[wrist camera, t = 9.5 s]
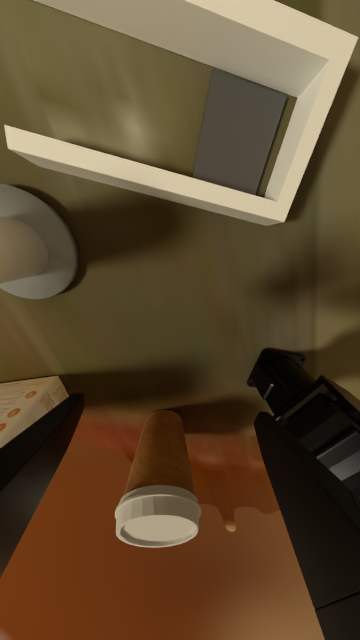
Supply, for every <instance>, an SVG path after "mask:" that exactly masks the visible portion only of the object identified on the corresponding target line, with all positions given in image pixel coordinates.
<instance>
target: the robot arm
mask: <svg viewBox="0 0 360 640" xmlns="http://www.w3.org/2000/svg"><path fill="white" fill-rule="evenodd" d="M266 352H267V353H266ZM305 361H306V357H305V356H304V355H299V354H293V353H287V352H281V351H275V350H269V349H264V350H262V352H261V354H260V356H259V358H258V360H257V362H256V364H255V366H254V368H253V370H252V372H251V374H250V377H249V379H248V381H247V384H248V386H250V387H256V388H257V390H258V391H259V393H260V395H261V397H262V398H263V400H266V402H267V403H268V405H269V407H270V408H271V410H272V412H273V413H274V414H275V415H274V416H272V415H270V414H269V413H268V412H262V411H261V412H259V414H258V415H257V417H256V419H255V421H254V427H255V431H256V435H257V439H258V443H259V447H260V451H261V455H262V458H263V461H264V464H265V467H266V470H267V473H268V476H269V479H270V482H271V485H272V488H273V490H274V493H275V496H276V499H277V502H278V505H279V508H280V511H281V514H282V516H283V519H284V522H285V525H286V528H287V531H288V534H289V537H290V540H291V543H292V545H293V548H294V551H295V554H296V557H297V560H298V563H299V566H300V568H301V571H302V574H303V577H304V580H305V583H306V586H307V589H308V591H309V595H310V598H311V600H312V603H313V606H314V608H315V612H316V615H317V618H318V621H319V624H320V627H321V630H322V633H323V636H324V638H325V640H360V400H358V399H357V398H356V397H355V396H353V395H352V394H351V393H350V392H348V391H347V390H345V389H344V388H342V387H341V386H339V385H337V384H336V383H334V382H333V381H331V380H329V379H328V378H326V377H325V376H323V375H321V376H320V377H318V380H316V381H315V380H314V379H313V378H312V377H311V376H310V375H309V374H308V373H307V372H306V371H305V370H304V369H303V368H302V366H303V364H304V362H305ZM83 409H84V394H83V393H73V394H71V395H70V396H69V397H67V398H66V399H65V400H63V401H62V402H61V403H59V404H58V405H57V406H55V407H54V408H53V409H51V410H50V411H49V412H48V413H46V414H45V415H44V416H42V417H41V418H40V419H38V420H37V421H36V422H34V423H33V424H32V425H30V426H29V427H28V428H26V429H25V430H24V431H22V432H21V433H20V434H18V435H17V436H16V437H14V438H13V439H12V440H10V441H9V442H8V443H7V444H5V445H4V446H3V447H1V448H0V578H1V576H2V574H3V572H4V570H5V568H6V566H7V565H8V563H9V561H10V559H11V557H12V555H13V553H14V551H15V549H16V547H17V545H18V543H19V541H20V539H21V537H22V535H23V534H24V532H25V530H26V528H27V526H28V524H29V522H30V520H31V518H32V516H33V514H34V512H35V510H36V509H37V507H38V504H39V503H40V501H41V499H42V497H43V495H44V493H45V491H46V489H47V487H48V485H49V483H50V481H51V479H52V478H53V476H54V474H55V472H56V470H57V468H58V466H59V464H60V462H61V460H62V458H63V456H64V454H65V453H66V450H67V448H68V446H69V444H70V442H71V439H72V437H73V434H74V432H75V429H76V427H77V424H78V422H79V420H80V417H81V415H82V412H83Z"/></svg>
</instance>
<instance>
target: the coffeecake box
mask: <svg viewBox="0 0 360 640" xmlns="http://www.w3.org/2000/svg"><path fill="white" fill-rule="evenodd" d="M67 397H69V395H68V393H67V392H66V389H65V387H64V385H63V383H62V381H61V380H60V378H59V376H52V377H45V378H37V379H30V380H23V381H15V382H8V383H1V384H0V448H1V447H3V446H4V445H5V444H7V443H8V442H9V441H10V440H12V439H13V438H14V437H16V436H17V435H18V434H20V433H21V432H22V431H24V430H25V429H26V428H28V427H29V426H30V425H32V424H33V423H34V422H36V421H37V420H38V419H40V418H41V417H42V416H44V415H45V414H46V413H48V412H49V411H50V410H51V409H53V408H54V407H55V406H57V405H58V404H59V403H61V402H62V401H63V400H65V399H66V398H67Z"/></svg>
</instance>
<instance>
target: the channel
mask: <svg viewBox="0 0 360 640" xmlns="http://www.w3.org/2000/svg"><path fill="white" fill-rule="evenodd" d="M33 1H36V2H39V3H41V4H44V5H47V6H50V7H52V8H55V9H58V10H60V11H63V12H66V13H69V14H71V15H74V16H77V17H79V18H82V19H85V20H88V21H90V22H93V23H96V24H98V25H101V26H104V27H107V28H109V29H112V30H115V31H117V32H120V33H123V34H126V35H128V36H131V37H134V38H136V39H139V40H142V41H145V42H147V43H150V44H153V45H155V46H158V47H161V48H164V49H166V50H169V51H172V52H174V53H177V54H180V55H183V56H185V57H188V58H191V59H193V60H196V61H199V62H202V63H204V64H207V65H210V66H212V67H215V68H218V69H221V70H223V71H226V72H229V73H231V74H234V75H237V76H240V77H242V78H245V79H248V80H250V81H253V82H256V83H259V84H261V85H264V86H267V87H269V88H272V89H275V90H278V91H280V92H283V93H286V94H288V95H291V96H294V97H297V98H298V99H297V102H296V105H295V107H294V110H293V113H292V116H291V119H290V122H289V125H288V128H287V131H286V134H285V137H284V140H283V143H282V146H281V149H280V152H279V154H278V157H277V160H276V163H275V166H274V169H273V172H272V175H271V178H270V181H269V184H268V187H267V190H266V193H265V196H264V198H262V197H259V196H255V194H256V191H257V188H258V185H259V182H260V178H261V175H262V172H263V169H264V166H265V163H266V160H267V157H268V154H269V150H270V147H271V144H272V141H273V138H274V135H275V132H276V129H277V126H278V122H279V119H280V116H281V113H282V110H283V107H284V104H285V101H286V98H287V96H285V95H283V94H280V93H277V92H274V91H272V90H269V89H266V88H264V87H261V86H258V85H255V84H253V83H250V82H247V81H244V80H242V79H239V78H236V77H234V76H231V75H228V74H225V73H223V72H220V71H217V70H214V69H213V71H212V76H211V82H210V87H209V92H208V97H207V103H206V108H205V113H204V118H203V124H202V129H201V134H200V139H199V145H198V150H197V155H196V160H195V166H194V171H193V176H192V178H191V177H187V176H184V175H180V174H177V173H173V172H170V171H166V170H163V169H159V168H156V167H152V166H148V165H145V164H141V163H138V162H134V161H131V160H127V159H124V158H120V157H116V156H113V155H109V154H106V153H102V152H99V151H95V150H92V149H88V148H85V147H81V146H77V145H74V144H70V143H67V142H63V141H60V140H56V139H53V138H49V137H45V136H42V135H38V134H35V133H31V132H28V131H24V130H21V129H17V128H13V127H10V126H6V125H4V126H5V132H6V139H7V146H8V149H10V150H12V151H13V152H15V153H17V154H18V155H20V156H22V157H24V158H25V159H27V160H29V161H31V162H32V163H34V164H36V165H37V166H39V167H43V168H47V169H50V170H54V171H58V172H62V173H66V174H70V175H73V176H77V177H81V178H85V179H89V180H93V181H96V182H100V183H104V184H108V185H112V186H116V187H119V188H123V189H127V190H131V191H135V192H139V193H142V194H146V195H150V196H154V197H158V198H162V199H165V200H169V201H173V202H177V203H181V204H185V205H188V206H192V207H196V208H200V209H204V210H208V211H211V212H215V213H219V214H223V215H227V216H231V217H234V218H238V219H242V220H246V221H250V222H254V223H257V224H261V225H265V226H268V225H273V224H278V223H283V222H285V219H286V217H287V214H288V212H289V209H290V207H291V204H292V202H293V199H294V197H295V194H296V192H297V189H298V187H299V184H300V182H301V179H302V177H303V174H304V172H305V169H306V167H307V164H308V162H309V159H310V157H311V154H312V152H313V149H314V147H315V144H316V142H317V139H318V137H319V134H320V132H321V129H322V127H323V124H324V122H325V119H326V117H327V114H328V112H329V109H330V107H331V104H332V102H333V99H334V97H335V94H336V92H337V89H338V87H339V84H340V82H341V79H342V77H343V74H344V72H345V69H346V67H347V64H348V62H349V59H350V57H351V54H352V52H353V49H354V47H355V44H356V42H357V39H358V37H356V36H354V35H352V34H350V33H347V32H345V31H343V30H340V29H338V28H336V27H334V26H331V25H329V24H327V23H324V22H322V21H320V20H318V19H315V18H313V17H311V16H308V15H306V14H304V13H302V12H299V11H297V10H295V9H292V8H290V7H288V6H286V5H283V4H281V3H279V2H276V1H274V0H33Z"/></svg>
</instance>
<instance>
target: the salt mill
mask: <svg viewBox="0 0 360 640" xmlns="http://www.w3.org/2000/svg"><path fill="white" fill-rule="evenodd" d="M47 264H48V251H47V247H46V245H45V243H44V241H43V239H42V238H41V236H40V235H39V234H38V232H37V231H36V230H35V229H34V228H32V227H31V226H30V225H28V224H27V223H25V222H24V221H21V220H19V219H16V218H11V217H5V216H0V284H2V283H6V282H11V281H15V280H19V279H24V278H28V277H33V276H36V275H39V274H40V273H42V272H43V271H44V270H45V268H46V266H47Z"/></svg>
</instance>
